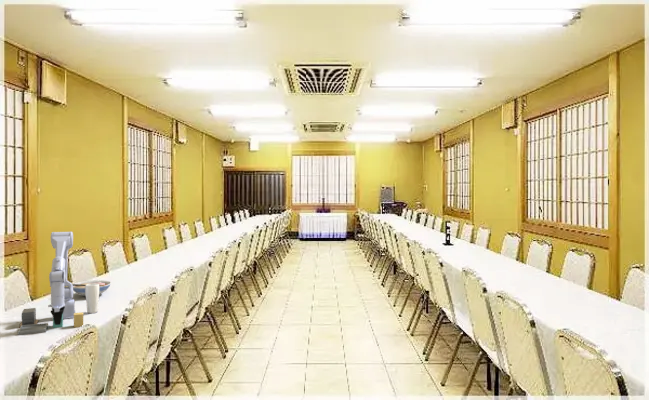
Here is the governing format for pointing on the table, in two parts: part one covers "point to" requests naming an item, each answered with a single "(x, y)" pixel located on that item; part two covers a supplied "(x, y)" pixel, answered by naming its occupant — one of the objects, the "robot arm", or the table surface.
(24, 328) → the slate tray
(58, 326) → the teal block
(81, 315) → the ochre block
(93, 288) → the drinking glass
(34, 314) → the silver unit
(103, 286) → the ramen bowl
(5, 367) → the table surface
